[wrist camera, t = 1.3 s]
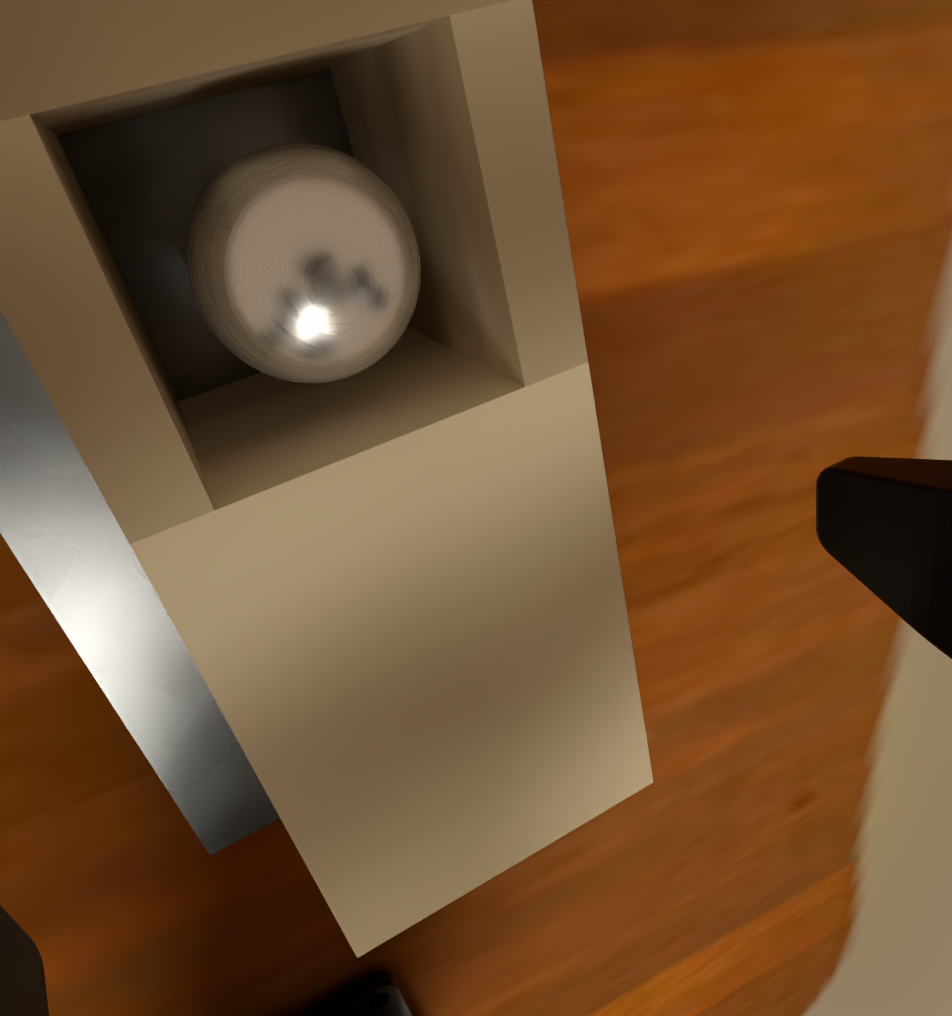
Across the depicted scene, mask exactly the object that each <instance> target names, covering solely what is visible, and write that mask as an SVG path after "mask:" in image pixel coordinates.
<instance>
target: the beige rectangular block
mask: <svg viewBox="0 0 952 1016" xmlns="http://www.w3.org/2000/svg"><path fill="white" fill-rule="evenodd" d="M326 69H330V72H331V76H332V79H333V83H334V86H335V90H336V93H337V97H338V101H339V104H340V108H341V111H342V115H343V119H344V122H345V126H346V129H347V133H348V136H349V140H350V144H351V147H352V151H353V154H354V158H355V159H356V160H357V161H359V162H361V163H362V164H364V165H365V166H366V167H368V168H369V169H370V170H372V171H373V172H374V173H375V174H376V175H377V176H379V177H380V178H381V179H382V180H383V181H384V182H385V183H386V184H387V185H388V186H389V188H390V189H391V190H392V191H393V193H394V194H395V195H396V197H397V198H398V199H399V201H400V203H401V204H402V206H403V208H404V209H405V211H406V213H407V215H408V217H409V220H410V222H411V224H412V227H413V230H414V233H415V236H416V239H417V244H418V249H419V254H420V266H421V277H420V288H419V294H418V299H417V303H416V306H415V310H414V312H413V315H412V317H411V319H410V322H409V324H408V326H407V327H406V329H405V331H404V333H403V334H402V336H401V337H400V339H399V340H398V341H397V343H396V344H395V345H394V346H393V347H392V348H391V349H390V350H389V351H388V352H387V354H386V355H385V356H383V357H382V358H381V359H379V360H378V361H377V362H376V363H374V364H373V365H371V366H370V367H368V368H366V369H365V370H363V371H361V372H359V373H356V374H354V375H352V376H349V377H346V378H343V379H340V380H336V381H330V382H324V383H301V382H293V381H288V380H284V379H279V378H276V377H273V376H270V375H268V374H265V373H262V372H261V373H258V374H255V375H252V376H249V377H247V378H244V379H241V380H238V381H235V382H232V383H230V384H227V385H224V386H221V387H218V388H215V389H213V390H210V391H207V392H204V393H201V394H198V395H196V396H193V397H190V398H187V399H184V400H181V401H178V399H177V397H176V395H175V392H174V390H173V388H172V386H171V384H170V382H169V379H168V377H167V375H166V373H165V371H164V368H163V366H162V364H161V362H160V360H159V357H158V355H157V353H156V351H155V349H154V347H153V344H152V342H151V340H150V338H149V336H148V333H147V331H146V329H145V327H144V325H143V323H142V320H141V318H140V316H139V314H138V312H137V309H136V307H135V305H134V303H133V301H132V298H131V296H130V294H129V292H128V290H127V288H126V285H125V283H124V281H123V279H122V277H121V274H120V272H119V270H118V268H117V266H116V264H115V261H114V259H113V257H112V255H111V253H110V250H109V248H108V246H107V244H106V242H105V239H104V237H103V235H102V233H101V231H100V229H99V226H98V224H97V222H96V220H95V218H94V215H93V213H92V211H91V209H90V207H89V205H88V202H87V200H86V198H85V196H84V194H83V191H82V189H81V187H80V185H79V183H78V180H77V178H76V176H75V174H74V172H73V170H72V167H71V165H70V163H69V161H68V159H67V156H66V154H65V152H64V150H63V148H62V146H61V143H60V141H59V139H58V137H57V135H61V134H65V133H69V132H73V131H77V130H81V129H86V128H90V127H94V126H98V125H102V124H106V123H110V122H114V121H118V120H122V119H126V118H130V117H134V116H138V115H143V114H147V113H151V112H155V111H159V110H163V109H167V108H171V107H175V106H179V105H183V104H187V103H191V102H195V101H200V100H204V99H208V98H212V97H216V96H220V95H224V94H228V93H232V92H236V91H240V90H244V89H248V88H253V87H257V86H261V85H265V84H269V83H273V82H277V81H281V80H285V79H289V78H293V77H297V76H301V75H305V74H310V73H314V72H318V71H322V70H326ZM0 310H1V312H2V314H3V315H4V317H5V319H6V321H7V323H8V324H9V326H10V328H11V330H12V332H13V334H14V335H15V337H16V339H17V341H18V343H19V344H20V346H21V348H22V350H23V352H24V354H25V355H26V357H27V359H28V361H29V363H30V364H31V366H32V368H33V370H34V372H35V373H36V375H37V377H38V379H39V381H40V383H41V384H42V386H43V388H44V390H45V392H46V393H47V395H48V397H49V399H50V401H51V403H52V404H53V406H54V408H55V410H56V412H57V413H58V415H59V417H60V419H61V421H62V423H63V424H64V426H65V428H66V430H67V432H68V433H69V435H70V437H71V439H72V441H73V443H74V444H75V446H76V448H77V450H78V452H79V453H80V455H81V457H82V459H83V461H84V463H85V464H86V466H87V468H88V470H89V472H90V473H91V475H92V477H93V479H94V481H95V482H96V484H97V486H98V488H99V490H100V492H101V493H102V495H103V497H104V499H105V501H106V502H107V504H108V506H109V508H110V510H111V512H112V513H113V515H114V517H115V519H116V521H117V522H118V524H119V526H120V528H121V530H122V532H123V533H124V535H125V537H126V539H127V541H128V542H129V544H130V546H131V548H132V550H133V552H134V553H135V555H136V557H137V559H138V561H139V562H140V564H141V566H142V568H143V570H144V571H145V573H146V575H147V577H148V579H149V581H150V582H151V584H152V586H153V588H154V590H155V591H156V593H157V595H158V597H159V599H160V601H161V602H162V604H163V606H164V608H165V610H166V611H167V613H168V615H169V617H170V619H171V621H172V622H173V624H174V626H175V628H176V630H177V631H178V633H179V635H180V637H181V639H182V641H183V642H184V644H185V646H186V648H187V650H188V651H189V653H190V655H191V657H192V659H193V660H194V662H195V664H196V666H197V668H198V670H199V671H200V673H201V675H202V677H203V679H204V680H205V682H206V684H207V686H208V688H209V690H210V691H211V693H212V695H213V697H214V699H215V700H216V702H217V704H218V706H219V708H220V710H221V711H222V713H223V715H224V717H225V719H226V720H227V722H228V724H229V726H230V728H231V730H232V731H233V733H234V735H235V737H236V739H237V740H238V742H239V744H240V746H241V748H242V749H243V751H244V753H245V755H246V757H247V759H248V760H249V762H250V764H251V766H252V768H253V769H254V771H255V773H256V775H257V777H258V779H259V780H260V782H261V784H262V786H263V788H264V789H265V791H266V793H267V795H268V797H269V799H270V800H271V802H272V804H273V806H274V808H275V809H276V811H277V813H278V815H279V817H280V819H281V820H282V822H283V824H284V826H285V828H286V829H287V831H288V833H289V835H290V837H291V838H292V840H293V842H294V844H295V846H296V848H297V849H298V851H299V853H300V855H301V857H302V858H303V860H304V862H305V864H306V866H307V868H308V869H309V871H310V873H311V875H312V877H313V878H314V880H315V882H316V884H317V886H318V888H319V889H320V891H321V893H322V895H323V897H324V898H325V900H326V902H327V904H328V906H329V908H330V909H331V911H332V913H333V915H334V917H335V918H336V920H337V922H338V924H339V926H340V927H341V929H342V931H343V933H344V935H345V937H346V938H347V940H348V942H349V944H350V946H351V947H352V949H353V951H354V953H355V955H356V957H357V958H358V957H360V956H362V955H364V954H365V953H367V952H369V951H370V950H372V949H374V948H375V947H377V946H379V945H380V944H382V943H384V942H385V941H387V940H389V939H390V938H392V937H394V936H396V935H397V934H399V933H401V932H402V931H404V930H406V929H407V928H409V927H411V926H412V925H414V924H416V923H417V922H419V921H421V920H422V919H424V918H426V917H427V916H429V915H431V914H433V913H434V912H436V911H438V910H439V909H441V908H443V907H444V906H446V905H448V904H449V903H451V902H453V901H454V900H456V899H458V898H459V897H461V896H463V895H465V894H466V893H468V892H470V891H471V890H473V889H475V888H476V887H478V886H480V885H481V884H483V883H485V882H486V881H488V880H490V879H491V878H493V877H495V876H497V875H498V874H500V873H502V872H503V871H505V870H507V869H508V868H510V867H512V866H513V865H515V864H517V863H518V862H520V861H522V860H523V859H525V858H527V857H529V856H530V855H532V854H534V853H535V852H537V851H539V850H540V849H542V848H544V847H545V846H547V845H549V844H550V843H552V842H554V841H555V840H557V839H559V838H561V837H562V836H564V835H566V834H567V833H569V832H571V831H572V830H574V829H576V828H577V827H579V826H581V825H582V824H584V823H586V822H587V821H589V820H591V819H593V818H594V817H596V816H598V815H599V814H601V813H603V812H604V811H606V810H608V809H609V808H611V807H613V806H614V805H616V804H618V803H619V802H621V801H623V800H624V799H626V798H628V797H630V796H631V795H633V794H635V793H636V792H638V791H640V790H641V789H643V788H645V787H646V786H648V785H650V784H651V783H653V777H652V770H651V764H650V757H649V751H648V744H647V738H646V732H645V725H644V719H643V712H642V706H641V699H640V693H639V686H638V680H637V674H636V667H635V661H634V654H633V648H632V641H631V635H630V628H629V622H628V615H627V609H626V603H625V596H624V590H623V583H622V577H621V570H620V564H619V557H618V551H617V545H616V538H615V532H614V525H613V519H612V512H611V506H610V499H609V493H608V486H607V480H606V474H605V467H604V461H603V454H602V448H601V441H600V435H599V428H598V422H597V415H596V409H595V403H594V396H593V390H592V383H591V377H590V370H589V364H588V357H587V351H586V345H585V338H584V332H583V325H582V319H581V312H580V306H579V299H578V293H577V286H576V280H575V274H574V267H573V261H572V254H571V248H570V241H569V235H568V228H567V222H566V216H565V209H564V203H563V196H562V190H561V183H560V177H559V170H558V164H557V157H556V151H555V145H554V138H553V132H552V125H551V119H550V112H549V106H548V99H547V93H546V87H545V80H544V74H543V67H542V61H541V54H540V48H539V41H538V35H537V28H536V22H535V16H534V9H533V3H532V0H0Z"/></svg>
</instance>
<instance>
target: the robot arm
mask: <svg viewBox="0 0 952 1016" xmlns="http://www.w3.org/2000/svg"><path fill="white" fill-rule="evenodd" d="M816 532H817V536H818V539H819V541H820V543H821V545H822V546H823V547H824V549H825V550H826V551H827V552H828V553H829V554H830V555H831V556H832V557H834V558H835V559H836V560H837V561H838V562H839V563H840V564H841V565H843V566H844V567H845V568H846V569H847V570H848V571H849V572H850V573H852V574H853V575H854V576H855V577H856V578H857V579H858V580H859V581H861V582H862V583H863V584H864V585H865V586H866V587H867V588H868V589H870V590H871V591H872V592H873V593H874V594H875V595H876V596H877V597H878V598H880V599H881V600H882V601H883V602H884V603H885V604H886V605H887V606H889V607H890V608H891V609H892V610H893V611H894V612H895V613H896V614H898V615H899V616H900V617H901V618H902V619H903V620H904V621H905V622H907V623H908V624H909V625H910V626H911V627H912V628H913V629H915V630H916V631H917V632H918V633H919V634H921V635H922V636H923V637H924V638H925V639H927V640H928V641H929V642H930V643H932V644H933V645H934V646H935V647H937V648H938V649H939V650H941V651H942V652H943V653H944V654H946V655H947V656H949V657H950V658H951V659H952V460H931V459H906V458H882V457H849V458H846V459H844V460H842V461H840V462H838V463H836V464H834V465H832V466H829V467H827V468H826V469H824V470H823V471H822V472H821V473H820V474H819V476H818V479H817V483H816ZM0 1016H49V1012H48V1002H47V993H46V984H45V975H44V967H43V963H42V959H41V956H40V953H39V951H38V949H37V947H36V945H35V943H34V942H33V941H32V939H31V938H30V937H29V936H28V935H27V934H26V933H25V932H24V930H23V929H22V928H21V927H20V926H19V925H18V924H17V923H16V922H15V921H14V920H13V918H12V917H11V916H10V915H9V914H8V913H7V912H6V911H5V910H4V909H3V908H2V907H1V905H0ZM301 1016H414V1015H413V1013H412V1011H411V1009H410V1007H409V1005H408V1003H407V1001H406V999H405V997H404V995H403V993H402V991H401V989H400V987H399V986H398V984H397V982H396V980H395V978H394V976H393V974H392V973H391V972H390V971H386V970H381V971H376V972H373V973H371V974H369V975H367V976H365V977H364V978H362V979H361V980H359V981H357V982H356V983H354V984H352V985H351V986H349V987H347V988H346V989H344V990H342V991H341V992H339V993H337V994H336V995H334V996H332V997H331V998H329V999H327V1000H326V1001H324V1002H322V1003H321V1004H319V1005H317V1006H316V1007H314V1008H312V1009H311V1010H309V1011H307V1012H306V1013H304V1014H302V1015H301Z"/></svg>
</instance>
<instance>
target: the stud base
mask: <svg viewBox="0 0 952 1016" xmlns="http://www.w3.org/2000/svg"><path fill="white" fill-rule="evenodd" d="M57 137H58V139H59V141H60V143H61V146H62V148H63V150H64V152H65V154H66V156H67V159H68V161H69V163H70V165H71V167H72V170H73V172H74V174H75V176H76V178H77V180H78V183H79V185H80V187H81V189H82V191H83V194H84V196H85V198H86V200H87V202H88V205H89V207H90V209H91V211H92V213H93V215H94V218H95V220H96V222H97V224H98V226H99V229H100V231H101V233H102V235H103V237H104V239H105V242H106V244H107V246H108V248H109V250H110V253H111V255H112V257H113V259H114V261H115V264H116V266H117V268H118V270H119V272H120V274H121V277H122V279H123V281H124V283H125V285H126V288H127V290H128V292H129V294H130V296H131V298H132V301H133V303H134V305H135V307H136V309H137V312H138V314H139V316H140V318H141V320H142V323H143V325H144V327H145V329H146V331H147V333H148V336H149V338H150V340H151V342H152V344H153V347H154V349H155V351H156V353H157V355H158V357H159V360H160V362H161V364H162V366H163V368H164V371H165V373H166V375H167V377H168V379H169V382H170V384H171V386H172V388H173V390H174V392H175V395H176V397H177V399H178V401H181V400H184V399H187V398H190V397H193V396H196V395H198V394H201V393H204V392H207V391H210V390H213V389H215V388H218V387H221V386H224V385H227V384H230V383H232V382H235V381H238V380H241V379H244V378H247V377H249V376H252V375H255V374H258V373H261V372H262V373H265V374H268V375H270V376H273V377H276V378H279V379H284V380H288V381H293V382H301V383H324V382H330V381H336V380H340V379H343V378H346V377H349V376H352V375H354V374H356V373H359V372H361V371H363V370H365V369H366V368H368V367H370V366H371V365H373V364H374V363H376V362H377V361H378V360H379V359H381V358H382V357H383V356H385V355H386V354H387V352H388V351H389V350H390V349H391V348H392V347H393V346H394V345H395V344H396V343H397V341H398V340H399V339H400V337H401V336H402V334H403V333H404V331H405V329H406V327H407V326H408V324H409V322H410V319H411V317H412V315H413V312H414V310H415V306H416V303H417V299H418V294H419V288H420V277H421V266H420V254H419V249H418V244H417V239H416V236H415V233H414V230H413V227H412V224H411V222H410V220H409V217H408V215H407V213H406V211H405V209H404V208H403V206H402V204H401V203H400V201H399V199H398V198H397V197H396V195H395V194H394V193H393V191H392V190H391V189H390V188H389V186H388V185H387V184H386V183H385V182H384V181H383V180H382V179H381V178H380V177H379V176H377V175H376V174H375V173H374V172H373V171H372V170H370V169H369V168H368V167H366V166H365V165H364V164H362V163H361V162H359V161H357V160H356V159H355V158H354V154H353V151H352V147H351V144H350V140H349V136H348V133H347V129H346V126H345V122H344V119H343V115H342V111H341V108H340V104H339V101H338V97H337V93H336V90H335V86H334V83H333V79H332V76H331V72H330V69H326V70H322V71H318V72H314V73H310V74H305V75H301V76H297V77H293V78H289V79H285V80H281V81H277V82H273V83H269V84H265V85H261V86H257V87H253V88H248V89H244V90H240V91H236V92H232V93H228V94H224V95H220V96H216V97H212V98H208V99H204V100H200V101H195V102H191V103H187V104H183V105H179V106H175V107H171V108H167V109H163V110H159V111H155V112H151V113H147V114H143V115H138V116H134V117H130V118H126V119H122V120H118V121H114V122H110V123H106V124H102V125H98V126H94V127H90V128H86V129H81V130H77V131H73V132H69V133H65V134H61V135H57ZM0 533H1V535H2V536H3V538H4V539H5V541H6V542H7V544H8V546H9V547H10V549H11V550H12V552H13V553H14V555H15V556H16V558H17V559H18V561H19V562H20V564H21V566H22V567H23V569H24V570H25V572H26V573H27V575H28V576H29V578H30V579H31V581H32V582H33V584H34V586H35V587H36V589H37V590H38V592H39V593H40V595H41V596H42V598H43V599H44V601H45V603H46V604H47V606H48V607H49V609H50V610H51V612H52V613H53V615H54V616H55V618H56V619H57V621H58V623H59V624H60V626H61V627H62V629H63V630H64V632H65V633H66V635H67V636H68V638H69V639H70V641H71V643H72V644H73V646H74V647H75V649H76V650H77V652H78V653H79V655H80V656H81V658H82V659H83V661H84V663H85V664H86V666H87V667H88V669H89V670H90V672H91V673H92V675H93V676H94V678H95V679H96V681H97V683H98V684H99V686H100V687H101V689H102V690H103V692H104V693H105V695H106V696H107V698H108V700H109V701H110V703H111V704H112V706H113V707H114V709H115V710H116V712H117V713H118V715H119V716H120V718H121V720H122V721H123V723H124V724H125V726H126V727H127V729H128V730H129V732H130V733H131V735H132V736H133V738H134V740H135V741H136V743H137V744H138V746H139V747H140V749H141V750H142V752H143V753H144V755H145V756H146V758H147V760H148V761H149V763H150V764H151V766H152V767H153V769H154V770H155V772H156V773H157V775H158V776H159V778H160V780H161V781H162V783H163V784H164V786H165V787H166V789H167V790H168V792H169V793H170V795H171V797H172V798H173V800H174V801H175V803H176V804H177V806H178V807H179V809H180V810H181V812H182V813H183V815H184V817H185V818H186V820H187V821H188V823H189V824H190V826H191V827H192V829H193V830H194V832H195V833H196V835H197V837H198V838H199V840H200V841H201V843H202V844H203V846H204V847H205V849H206V850H207V852H208V853H209V855H212V854H214V853H216V852H218V851H220V850H221V849H223V848H225V847H227V846H229V845H231V844H233V843H235V842H237V841H239V840H241V839H242V838H244V837H246V836H248V835H250V834H252V833H254V832H256V831H258V830H260V829H262V828H263V827H265V826H267V825H269V824H271V823H273V822H275V821H277V820H279V819H280V817H279V815H278V813H277V811H276V809H275V808H274V806H273V804H272V802H271V800H270V799H269V797H268V795H267V793H266V791H265V789H264V788H263V786H262V784H261V782H260V780H259V779H258V777H257V775H256V773H255V771H254V769H253V768H252V766H251V764H250V762H249V760H248V759H247V757H246V755H245V753H244V751H243V749H242V748H241V746H240V744H239V742H238V740H237V739H236V737H235V735H234V733H233V731H232V730H231V728H230V726H229V724H228V722H227V720H226V719H225V717H224V715H223V713H222V711H221V710H220V708H219V706H218V704H217V702H216V700H215V699H214V697H213V695H212V693H211V691H210V690H209V688H208V686H207V684H206V682H205V680H204V679H203V677H202V675H201V673H200V671H199V670H198V668H197V666H196V664H195V662H194V660H193V659H192V657H191V655H190V653H189V651H188V650H187V648H186V646H185V644H184V642H183V641H182V639H181V637H180V635H179V633H178V631H177V630H176V628H175V626H174V624H173V622H172V621H171V619H170V617H169V615H168V613H167V611H166V610H165V608H164V606H163V604H162V602H161V601H160V599H159V597H158V595H157V593H156V591H155V590H154V588H153V586H152V584H151V582H150V581H149V579H148V577H147V575H146V573H145V571H144V570H143V568H142V566H141V564H140V562H139V561H138V559H137V557H136V555H135V553H134V552H133V550H132V548H131V546H130V544H129V542H128V541H127V539H126V537H125V535H124V533H123V532H122V530H121V528H120V526H119V524H118V522H117V521H116V519H115V517H114V515H113V513H112V512H111V510H110V508H109V506H108V504H107V502H106V501H105V499H104V497H103V495H102V493H101V492H100V490H99V488H98V486H97V484H96V482H95V481H94V479H93V477H92V475H91V473H90V472H89V470H88V468H87V466H86V464H85V463H84V461H83V459H82V457H81V455H80V453H79V452H78V450H77V448H76V446H75V444H74V443H73V441H72V439H71V437H70V435H69V433H68V432H67V430H66V428H65V426H64V424H63V423H62V421H61V419H60V417H59V415H58V413H57V412H56V410H55V408H54V406H53V404H52V403H51V401H50V399H49V397H48V395H47V393H46V392H45V390H44V388H43V386H42V384H41V383H40V381H39V379H38V377H37V375H36V373H35V372H34V370H33V368H32V366H31V364H30V363H29V361H28V359H27V357H26V355H25V354H24V352H23V350H22V348H21V346H20V344H19V343H18V341H17V339H16V337H15V335H14V334H13V332H12V330H11V328H10V326H9V324H8V323H7V321H6V319H5V317H4V315H3V314H2V312H1V310H0Z"/></svg>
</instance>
